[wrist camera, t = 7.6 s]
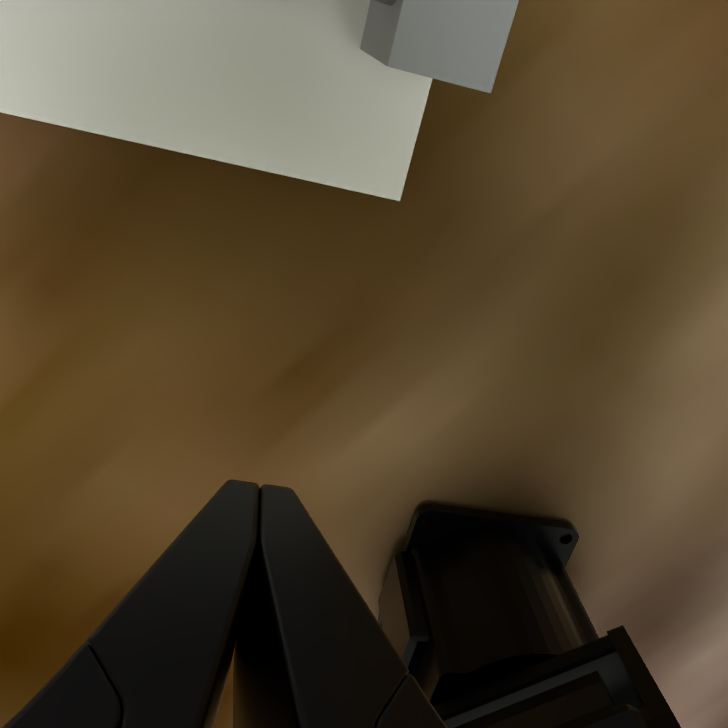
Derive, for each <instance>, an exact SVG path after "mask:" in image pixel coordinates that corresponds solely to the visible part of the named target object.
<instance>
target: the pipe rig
mask: <svg viewBox="0 0 728 728" xmlns="http://www.w3.org/2000/svg"><path fill="white" fill-rule="evenodd" d="M518 2H519V0H0V112H1V113H6V114H10V115H15V116H19V117H24V118H28V119H33V120H37V121H42V122H46V123H51V124H55V125H60V126H64V127H69V128H73V129H78V130H82V131H87V132H91V133H96V134H100V135H105V136H109V137H114V138H118V139H123V140H127V141H132V142H136V143H141V144H145V145H150V146H154V147H159V148H163V149H167V150H172V151H176V152H181V153H185V154H190V155H194V156H199V157H203V158H208V159H212V160H217V161H221V162H226V163H230V164H235V165H239V166H244V167H248V168H253V169H257V170H262V171H266V172H271V173H275V174H280V175H284V176H289V177H293V178H298V179H302V180H307V181H311V182H316V183H320V184H325V185H329V186H334V187H338V188H343V189H347V190H352V191H356V192H361V193H365V194H370V195H374V196H379V197H383V198H388V199H392V200H397V201H400V199H401V195H402V191H403V188H404V184H405V180H406V176H407V173H408V169H409V165H410V161H411V158H412V154H413V150H414V146H415V143H416V139H417V135H418V131H419V128H420V124H421V120H422V116H423V113H424V109H425V105H426V101H427V98H428V94H429V90H430V86H431V83H432V79H437V80H441V81H445V82H448V83H452V84H456V85H460V86H464V87H468V88H471V89H475V90H479V91H483V92H487V93H491V91H492V87H493V84H494V81H495V78H496V74H497V71H498V68H499V64H500V61H501V58H502V55H503V51H504V48H505V45H506V41H507V38H508V35H509V32H510V28H511V25H512V22H513V18H514V15H515V12H516V9H517V5H518Z"/></svg>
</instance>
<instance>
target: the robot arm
mask: <svg viewBox="0 0 728 728" xmlns="http://www.w3.org/2000/svg"><path fill="white" fill-rule="evenodd" d="M427 516H433V518H431V519H428V520H425V519H424V518H426V517H427ZM564 534H567V535H566V536H564V537H561V536H562V535H564ZM578 538H579V536H578V533H577V531H576V529H575V527H574V526H573V525H572V524H571V523H568V522H563V521H555V520H548V519H541V518H533V517H526V516H518V515H511V514H503V513H496V512H489V511H481V510H474V509H466V508H459V507H451V506H444V505H437V504H425V505H422V506H420V507H419V508H418V509H417V510H416V512H415V514H414V516H413V519H412V522H411V525H410V528H409V531H408V534H407V537H406V540H405V542H404V545H403V548H402V551H398V552H397V553H396V554H395V555H394V556H393V559H392V562H391V565H390V568H389V571H388V573H387V576H386V579H385V582H384V585H383V588H382V591H381V594H380V597H379V601H378V602H379V609H380V615H379V618H378V621H377V620H376V618H375V616H374V615H373V613H372V612H371V610H370V609H369V607H368V606H367V604H366V602H365V601H364V599H363V598H362V596H361V595H360V593H359V592H358V590H357V588H356V587H355V585H354V584H353V582H352V581H351V579H350V578H349V576H348V574H347V573H346V571H345V570H344V568H343V567H342V565H341V564H340V562H339V560H338V559H337V557H336V556H335V554H334V553H333V551H332V549H331V548H330V546H329V545H328V543H327V542H326V540H325V539H324V537H323V535H322V534H321V532H320V531H319V529H318V528H317V526H316V525H315V523H314V521H313V520H312V518H311V517H310V515H309V514H308V512H307V511H306V509H305V507H304V506H303V504H302V503H301V501H300V500H299V498H298V497H297V495H296V493H295V492H294V491H293V490H292V489H291V488H288V487H281V486H274V485H267V484H266V485H262V486H261V487H260V488H259V486H258V484H256V483H253V482H246V481H239V480H228V481H227V482H226V483H225V484H224V485H223V486H222V487H221V488H220V489H219V490H218V491H217V493H216V494H215V495H214V496H213V497H212V498H211V499H210V501H209V502H208V503H207V504H206V505H205V506H204V507H203V508H202V510H201V511H200V512H199V513H198V514H197V515H196V516H195V517H194V519H193V520H192V521H191V522H190V523H189V524H188V525H187V526H186V528H185V529H184V530H183V531H182V532H181V533H180V534H179V536H178V537H177V538H176V539H175V540H174V541H173V542H172V543H171V545H170V546H169V547H168V548H167V549H166V550H165V551H164V552H163V554H162V555H161V556H160V557H159V558H158V559H157V560H156V562H155V563H154V564H153V565H152V566H151V567H150V568H149V569H148V571H147V572H146V573H145V574H144V575H143V576H142V577H141V578H140V580H139V581H138V582H137V583H136V584H135V585H134V586H133V587H132V589H131V590H130V591H129V592H128V593H127V594H126V595H125V597H124V598H123V599H122V600H121V601H120V602H119V603H118V604H117V606H116V607H115V608H114V609H113V610H112V611H111V612H110V613H109V615H108V616H107V617H106V618H105V619H104V620H103V621H102V623H101V624H100V625H99V626H98V627H97V628H96V629H95V630H94V632H93V633H92V634H91V635H90V636H89V637H88V638H87V640H86V642H85V644H83V645H81V646H80V647H79V648H78V649H77V650H76V651H75V653H74V654H73V655H72V656H71V657H70V658H69V659H68V660H67V662H66V663H65V664H64V665H63V666H62V667H61V668H60V670H59V671H58V672H57V673H56V674H55V675H54V676H53V677H52V678H51V679H50V680H49V681H48V682H47V683H46V684H45V685H44V686H43V687H42V689H41V690H40V691H39V692H38V693H37V694H36V695H35V696H34V697H33V698H32V699H31V700H30V701H29V702H28V703H27V704H26V705H25V707H24V708H22V709H21V710H20V711H19V712H18V713H17V714H16V715H15V716H14V717H13V718H12V719H11V720H10V721H9V722H8V723H7V724H5V725H4V726H3V727H2V728H215V725H216V721H217V717H218V713H219V709H220V706H221V702H222V698H223V694H224V690H225V686H226V682H227V679H228V674H229V670H230V666H231V661H232V657H233V652H234V670H233V728H681V727H680V725H679V723H678V721H677V720H676V718H675V716H674V714H673V712H672V711H671V709H670V707H669V705H668V704H667V702H666V700H665V698H664V697H663V695H662V693H661V691H660V690H659V688H658V686H657V684H656V683H655V681H654V679H653V677H652V676H651V674H650V672H649V670H648V669H647V667H646V665H645V663H644V662H643V660H642V658H641V656H640V655H639V653H638V651H637V649H636V648H635V646H634V644H633V642H632V641H631V639H630V637H629V635H628V634H627V632H626V630H625V628H624V627H623V625H622V626H620V627H617V628H615V629H612V630H610V631H607V633H608V635H606V636H604V637H601V638H599V637H598V635H597V633H596V631H595V629H594V627H593V625H592V623H591V621H590V619H589V617H588V615H587V613H586V610H585V608H584V606H583V604H582V602H581V600H580V598H579V596H578V594H577V592H576V590H575V588H574V586H573V584H572V582H571V580H570V578H569V576H568V574H567V572H566V570H565V566H566V564H567V562H568V560H569V558H570V556H571V554H572V551H573V549H574V547H575V545H576V543H577V541H578ZM234 648H235V651H234Z"/></svg>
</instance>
